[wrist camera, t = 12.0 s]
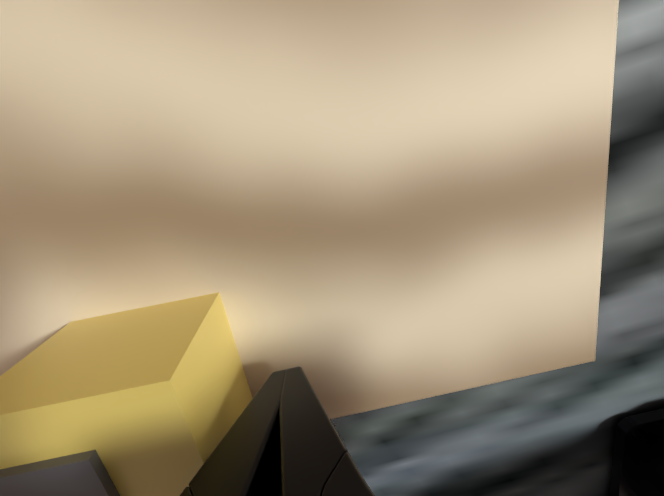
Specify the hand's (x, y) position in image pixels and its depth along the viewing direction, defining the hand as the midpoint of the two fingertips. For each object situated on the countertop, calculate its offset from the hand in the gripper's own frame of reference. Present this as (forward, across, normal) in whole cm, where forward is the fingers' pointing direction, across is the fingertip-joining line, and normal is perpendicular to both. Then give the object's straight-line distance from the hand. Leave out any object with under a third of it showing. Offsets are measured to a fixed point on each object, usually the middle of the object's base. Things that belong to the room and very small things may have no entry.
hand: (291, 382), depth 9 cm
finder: (+1, +4, 0) cm, 4 cm away
